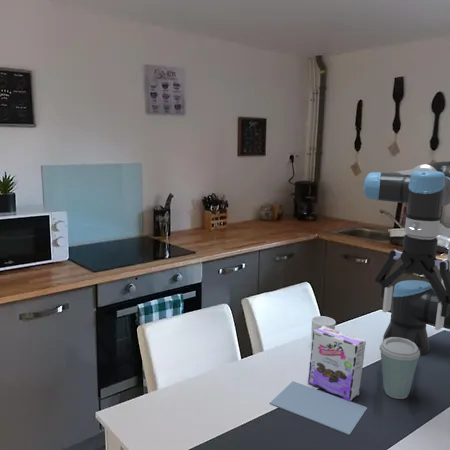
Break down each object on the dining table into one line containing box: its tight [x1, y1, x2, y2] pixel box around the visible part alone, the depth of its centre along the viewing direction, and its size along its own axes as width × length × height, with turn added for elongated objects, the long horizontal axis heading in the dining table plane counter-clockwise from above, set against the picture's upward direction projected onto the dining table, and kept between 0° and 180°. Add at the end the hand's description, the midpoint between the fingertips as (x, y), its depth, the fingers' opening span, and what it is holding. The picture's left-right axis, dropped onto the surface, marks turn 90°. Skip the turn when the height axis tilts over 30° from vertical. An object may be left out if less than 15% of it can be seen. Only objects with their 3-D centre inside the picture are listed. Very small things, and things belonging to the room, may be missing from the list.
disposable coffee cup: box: [379, 337, 421, 400], centre depth 129 cm, size 11×11×15 cm
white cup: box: [311, 315, 336, 341], centre depth 156 cm, size 8×8×10 cm
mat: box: [269, 380, 368, 436], centre depth 123 cm, size 14×22×1 cm, turn 56°
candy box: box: [307, 326, 367, 402], centre depth 130 cm, size 14×6×16 cm, turn 47°
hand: (411, 319), depth 114 cm, fingers open, 13 cm apart
